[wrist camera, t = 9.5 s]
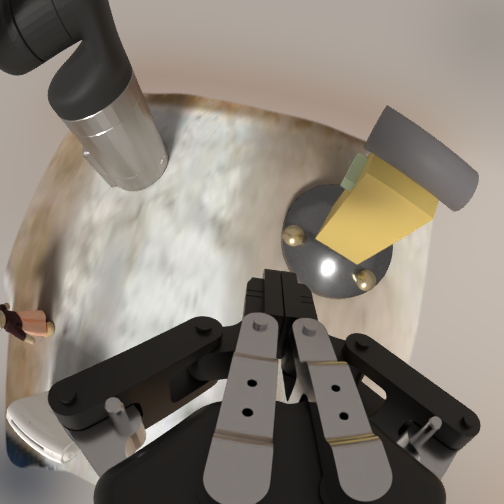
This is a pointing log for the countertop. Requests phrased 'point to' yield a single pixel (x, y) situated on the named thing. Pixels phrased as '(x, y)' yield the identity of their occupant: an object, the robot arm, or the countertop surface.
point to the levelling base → (326, 250)
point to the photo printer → (41, 428)
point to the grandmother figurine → (25, 323)
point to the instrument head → (394, 188)
